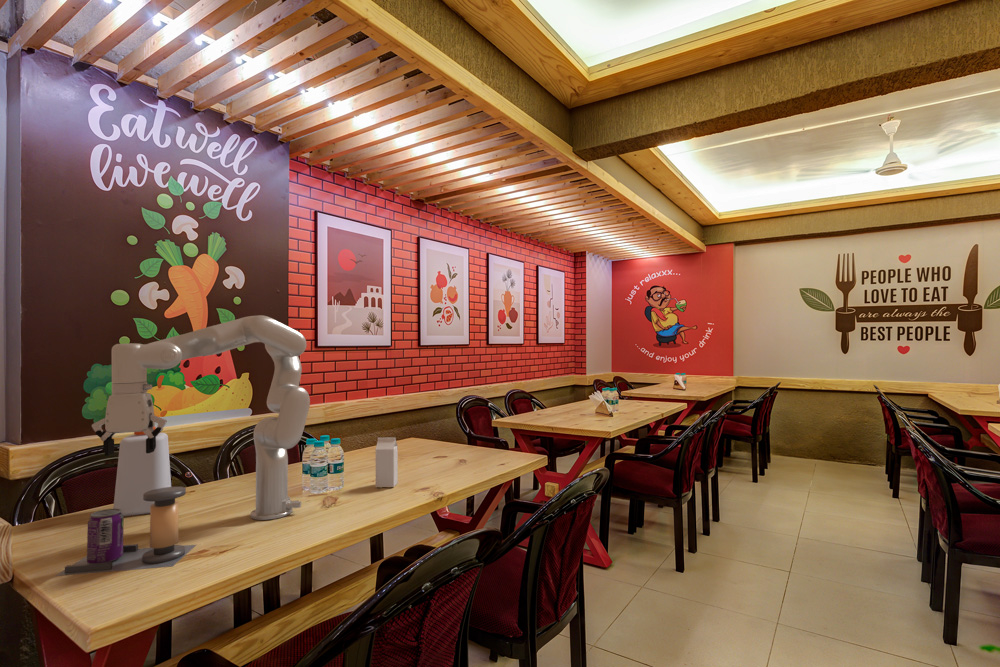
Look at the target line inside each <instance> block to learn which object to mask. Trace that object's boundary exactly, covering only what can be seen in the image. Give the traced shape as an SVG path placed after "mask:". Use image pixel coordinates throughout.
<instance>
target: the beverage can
mask: <svg viewBox="0 0 1000 667" xmlns="http://www.w3.org/2000/svg"><path fill="white" fill-rule="evenodd" d="M124 518H125V516H123V515H122V513H121V509H116V508H115V509H113V508H106V509H102V510H101V509H100V510H97V511H94V512H91V514H90V516H89V519H88V521H87V533H86V534H87V536H86V540H87V542H86V556H87V563H90V564H93V563H106V562H113V561H115V560H117V559H118V558H119V557H121V556H122V555H123V545H124V522H125V521H124V520H125V519H124Z"/></svg>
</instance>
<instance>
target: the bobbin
mask: <svg viewBox="0 0 1000 667" xmlns="http://www.w3.org/2000/svg"><path fill="white" fill-rule="evenodd" d="M186 489H187V488H186V487H184V486H171V487H166V488H159V489H155V490H151V491H148V492H146V493H144V494H143V500H144V501H154V504H152V505H151V506H150V513H149V514H150V518H149V548H154V549H152V550H149V551H147V552H145V553H144V554H143V555H142V562H143V563H146V564H158V563H164V562H168V561H172V560H175V559H177V558H179V557H181V556H183V555H184V554H185V547H184V545H181V544H178V543H179V513H180V512H179V510H180V509H179V507H180V504H179V501H178V500H176V499H177V498H181V497H183V496H185V495H186V493H187V490H186Z"/></svg>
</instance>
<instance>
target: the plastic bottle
mask: <svg viewBox="0 0 1000 667" xmlns="http://www.w3.org/2000/svg"><path fill="white" fill-rule="evenodd" d="M156 428H157V427H156V426H154V427H153V429H154V430H155V429H156ZM147 438H148V436H147V435H146V434H145V433H144V432H143V431H141V432H133V434H130V435H128V436H125V437H123V438H122V439H121V440H120V442H119V450H118V457H117V458H118V460H117V469H116V478H115V479H116V480H115V488H114V498H113V499H114V500H113V508H112V509H115V508H116V509H121V513H122V515H123V516H124V517H129V516H131V515H132V516H139V515H147V514H150V506H151V505H152V504H154V501H144V500H143V494H144V493H146V492H148V491H151V490H155V489H159V488H166V487H172V480H171V465H170V464H171V462H170V448H169V436H168V434H167V433H165V432H160V433H159V434H158V435H157V436H156V448H155V449H154V452H151V453H146V439H147ZM132 516H131V517H132Z"/></svg>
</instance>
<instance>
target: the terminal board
mask: <svg viewBox="0 0 1000 667" xmlns="http://www.w3.org/2000/svg"><path fill="white" fill-rule="evenodd" d="M183 546H184V547H185V554H184V555H183V556H181V557H179V558H177V559H175V560H172V561H168V562H164V563H158V564H146V563H143V562H142V555H143V554H144V553H145V552H147V551H149V550H152V549H154V548H151V547H145V548H139V543H135V544H134V543H133V544H123V555H122V556H121V557H119V558H118V559H117V560H115V561H113V562H106V563H93V564H90V563H87V555H86V556H84V557H83V558H81V559H79V560H78V561H77V562H75V563H73V564H70V565H66V566H65V567H64V570H62V571H60V572H59V573H57V574H55V575H54V577H57V576H59V577H60V576H70V575H81V574H82V575H84V574H85V575H86V574H94V573H95V574H96V573H109V572H120V571H133V570H134V571H135V570H146V569H157V568H172V567H174V566H175V565H176V564H177V563H178V562H180V561H181V560H182V559H183V558H184V557H185V556H186V555H187V554H188V553H190V552H191V550H193V549H194V548H195V547H197V544H185V545H183Z"/></svg>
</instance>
